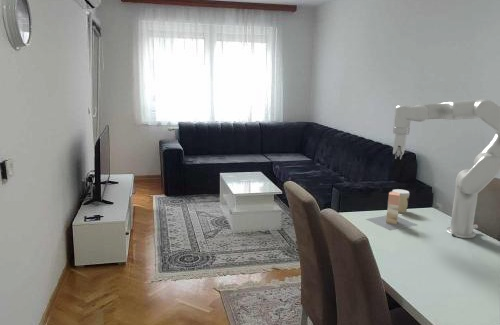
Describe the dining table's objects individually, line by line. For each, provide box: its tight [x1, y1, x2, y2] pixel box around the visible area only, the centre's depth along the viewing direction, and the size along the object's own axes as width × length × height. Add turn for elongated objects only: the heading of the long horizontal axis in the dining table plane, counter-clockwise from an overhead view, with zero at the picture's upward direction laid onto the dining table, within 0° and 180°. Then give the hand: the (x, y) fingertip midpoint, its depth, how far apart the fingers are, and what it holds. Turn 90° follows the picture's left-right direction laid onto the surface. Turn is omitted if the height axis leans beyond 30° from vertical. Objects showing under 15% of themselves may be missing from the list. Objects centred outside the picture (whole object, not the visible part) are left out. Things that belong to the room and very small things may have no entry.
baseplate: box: [365, 215, 418, 231], centre depth 203 cm, size 19×17×1 cm
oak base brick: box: [386, 212, 399, 224], centre depth 202 cm, size 5×5×5 cm
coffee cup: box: [391, 188, 411, 214], centre depth 221 cm, size 9×9×12 cm
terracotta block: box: [387, 191, 400, 205], centre depth 200 cm, size 5×5×5 cm
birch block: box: [386, 203, 399, 215], centre depth 201 cm, size 5×5×5 cm
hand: (398, 165), depth 196 cm, fingers open, 9 cm apart
